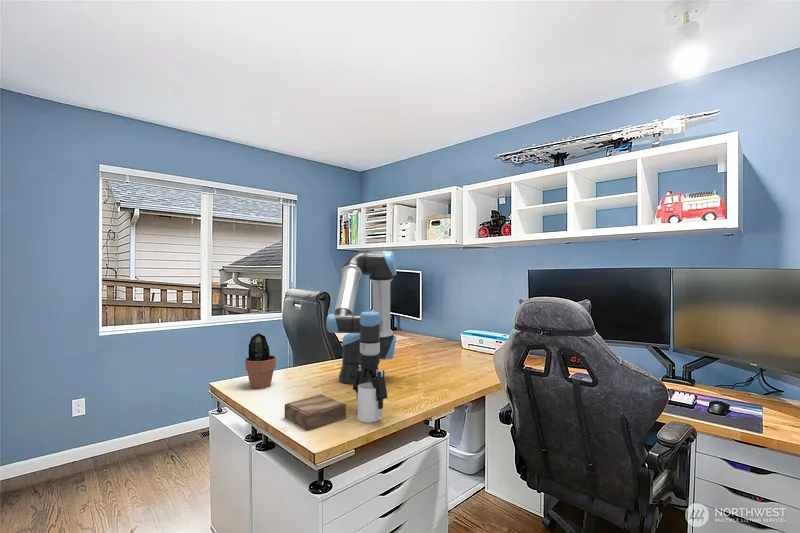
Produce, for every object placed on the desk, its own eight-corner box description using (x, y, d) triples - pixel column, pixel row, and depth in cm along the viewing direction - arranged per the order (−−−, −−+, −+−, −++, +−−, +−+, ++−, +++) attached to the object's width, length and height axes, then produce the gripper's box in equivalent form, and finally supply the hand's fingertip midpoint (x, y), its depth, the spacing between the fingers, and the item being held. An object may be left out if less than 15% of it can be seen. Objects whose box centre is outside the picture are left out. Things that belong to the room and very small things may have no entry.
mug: (357, 411, 149) (357, 380, 149) (379, 410, 150) (379, 379, 150) (357, 423, 137) (357, 389, 137) (380, 422, 138) (381, 388, 138)
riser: (284, 417, 142) (284, 403, 142) (321, 406, 153) (321, 393, 153) (307, 430, 130) (308, 414, 130) (345, 418, 142) (346, 403, 142)
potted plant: (281, 386, 180) (281, 332, 180) (252, 392, 170) (253, 336, 170) (267, 380, 189) (268, 329, 190) (239, 386, 180) (240, 332, 180)
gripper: (343, 350, 149) (343, 408, 148) (382, 359, 133) (382, 424, 132) (358, 347, 154) (358, 403, 153) (397, 356, 138) (397, 419, 138)
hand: (369, 413), depth 143 cm, fingers closed on mug, 10 cm apart
